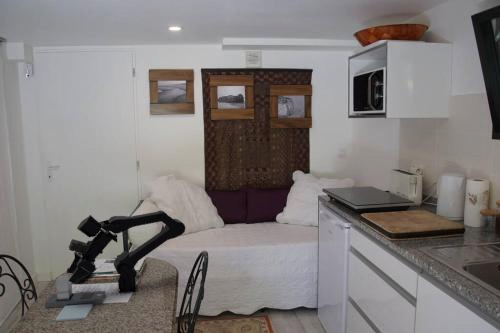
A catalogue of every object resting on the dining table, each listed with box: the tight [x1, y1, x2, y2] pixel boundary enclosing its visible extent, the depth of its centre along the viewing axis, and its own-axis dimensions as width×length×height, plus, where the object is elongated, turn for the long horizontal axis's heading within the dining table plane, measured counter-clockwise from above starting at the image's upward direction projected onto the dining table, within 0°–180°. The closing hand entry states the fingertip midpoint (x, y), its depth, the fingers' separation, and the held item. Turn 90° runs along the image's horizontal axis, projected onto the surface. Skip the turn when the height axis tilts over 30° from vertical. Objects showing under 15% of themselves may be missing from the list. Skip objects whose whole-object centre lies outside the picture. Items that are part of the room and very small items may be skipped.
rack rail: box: [44, 290, 107, 309], centre depth 148 cm, size 20×7×2 cm, turn 98°
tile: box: [55, 304, 94, 323], centre depth 139 cm, size 10×10×1 cm
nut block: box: [55, 274, 73, 301], centre depth 147 cm, size 4×4×10 cm
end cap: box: [66, 267, 90, 284], centre depth 168 cm, size 10×7×7 cm
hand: (69, 276), depth 147 cm, fingers open, 9 cm apart
